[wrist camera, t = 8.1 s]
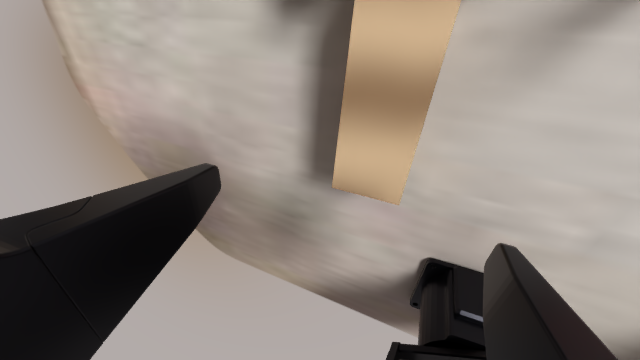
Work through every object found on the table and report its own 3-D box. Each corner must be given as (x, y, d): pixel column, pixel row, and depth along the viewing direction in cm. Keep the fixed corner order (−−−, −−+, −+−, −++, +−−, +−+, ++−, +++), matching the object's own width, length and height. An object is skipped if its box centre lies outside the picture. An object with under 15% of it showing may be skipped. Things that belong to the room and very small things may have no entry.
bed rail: (407, 162, 20) (398, 205, 16) (351, 150, 21) (331, 187, 17) (488, -118, 12) (511, -167, 8) (394, -120, 13) (374, -163, 9)
